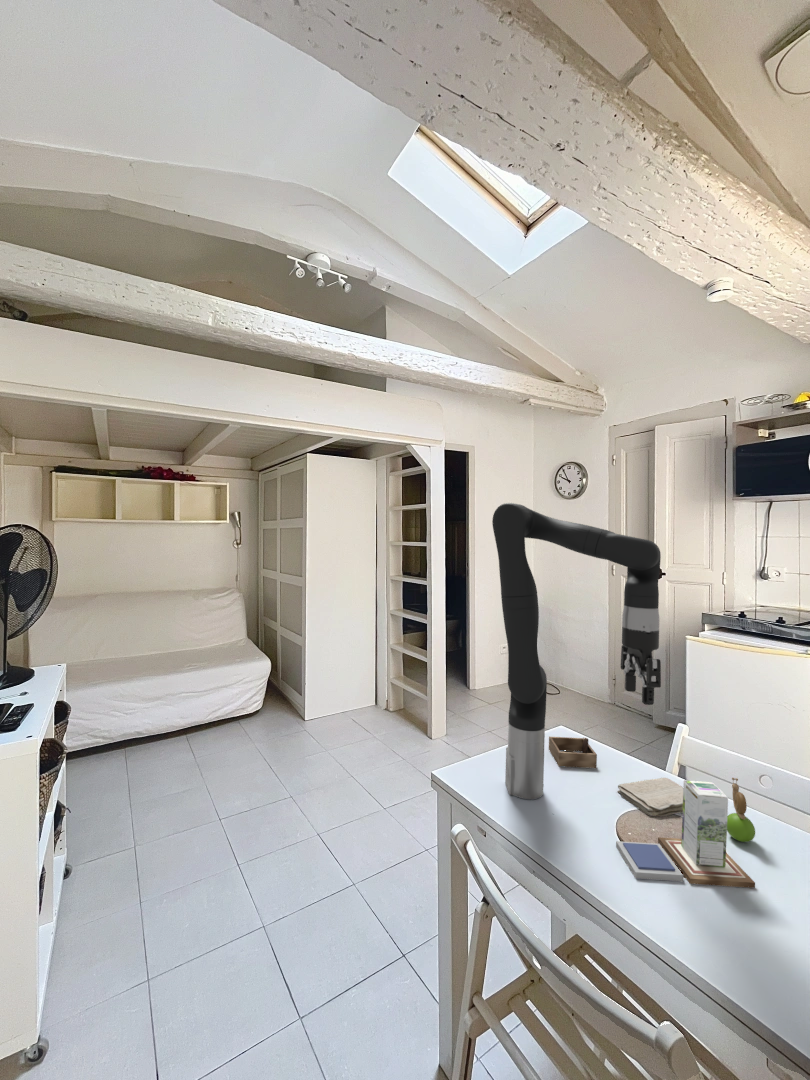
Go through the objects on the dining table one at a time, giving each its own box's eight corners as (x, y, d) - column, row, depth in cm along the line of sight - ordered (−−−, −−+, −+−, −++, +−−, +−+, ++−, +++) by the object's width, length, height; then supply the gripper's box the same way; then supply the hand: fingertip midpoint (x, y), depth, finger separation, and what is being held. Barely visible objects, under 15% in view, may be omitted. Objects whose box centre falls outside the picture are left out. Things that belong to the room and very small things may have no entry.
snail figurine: (747, 832, 102) (748, 779, 102) (759, 850, 96) (760, 794, 96) (719, 826, 104) (720, 775, 104) (729, 844, 98) (730, 789, 98)
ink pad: (635, 878, 87) (635, 870, 87) (616, 846, 96) (616, 839, 96) (683, 881, 86) (683, 873, 86) (659, 849, 95) (659, 841, 95)
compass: (561, 752, 139) (562, 728, 139) (589, 759, 135) (589, 735, 135) (555, 762, 132) (556, 738, 132) (584, 770, 128) (584, 745, 128)
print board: (690, 883, 86) (690, 877, 86) (658, 841, 98) (658, 836, 98) (755, 887, 85) (755, 881, 85) (714, 845, 97) (714, 839, 97)
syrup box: (709, 849, 94) (710, 780, 94) (726, 869, 88) (728, 796, 88) (680, 846, 95) (682, 778, 95) (696, 866, 89) (698, 793, 89)
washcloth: (614, 794, 117) (614, 782, 117) (666, 784, 123) (666, 772, 123) (652, 821, 106) (652, 808, 106) (707, 808, 112) (708, 796, 112)
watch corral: (558, 766, 130) (558, 752, 130) (548, 749, 141) (549, 736, 141) (596, 768, 129) (596, 754, 129) (583, 750, 140) (583, 738, 140)
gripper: (610, 620, 109) (609, 686, 109) (638, 632, 95) (636, 708, 95) (642, 621, 109) (640, 687, 109) (674, 633, 95) (672, 709, 95)
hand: (638, 697), depth 102 cm, fingers open, 8 cm apart
